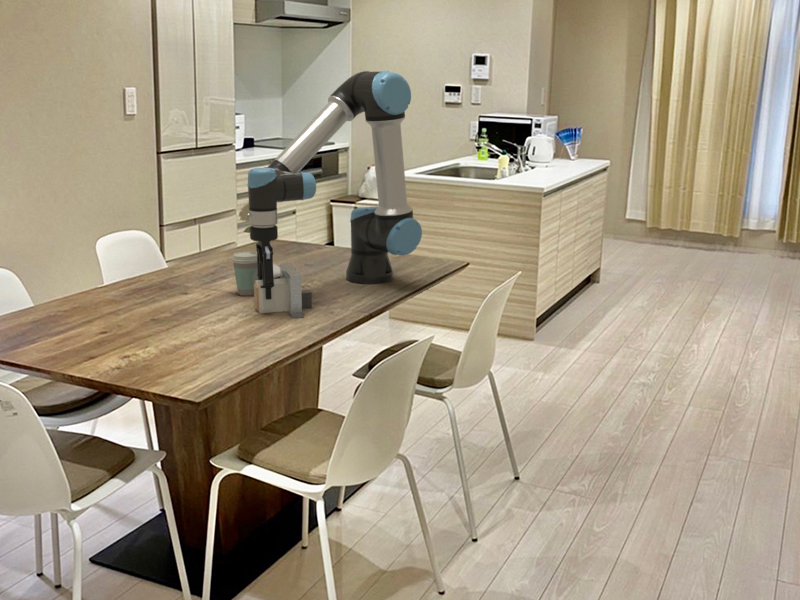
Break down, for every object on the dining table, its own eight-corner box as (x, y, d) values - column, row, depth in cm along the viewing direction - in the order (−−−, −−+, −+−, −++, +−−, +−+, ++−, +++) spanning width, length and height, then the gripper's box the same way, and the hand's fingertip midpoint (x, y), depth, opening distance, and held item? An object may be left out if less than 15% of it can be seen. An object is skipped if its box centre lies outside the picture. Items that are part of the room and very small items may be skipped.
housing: (290, 298, 260) (288, 261, 257) (303, 317, 241) (302, 277, 238) (279, 299, 259) (278, 261, 256) (292, 318, 240) (291, 278, 237)
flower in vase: (279, 272, 292) (276, 197, 285) (285, 280, 281) (283, 202, 275) (239, 275, 288) (235, 199, 281) (244, 283, 277) (241, 204, 271)
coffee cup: (256, 297, 261) (254, 257, 258) (229, 296, 263) (227, 256, 260) (266, 290, 269) (264, 251, 266) (239, 289, 271) (238, 250, 268)
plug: (308, 303, 255) (308, 276, 252) (313, 309, 249) (312, 281, 247) (254, 307, 250) (253, 280, 248) (257, 313, 245) (256, 285, 242)
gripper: (245, 220, 250) (248, 299, 256) (254, 232, 232) (258, 316, 238) (271, 218, 252) (274, 297, 258) (283, 230, 234) (285, 314, 240)
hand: (266, 306), depth 248 cm, fingers closed on plug, 6 cm apart
